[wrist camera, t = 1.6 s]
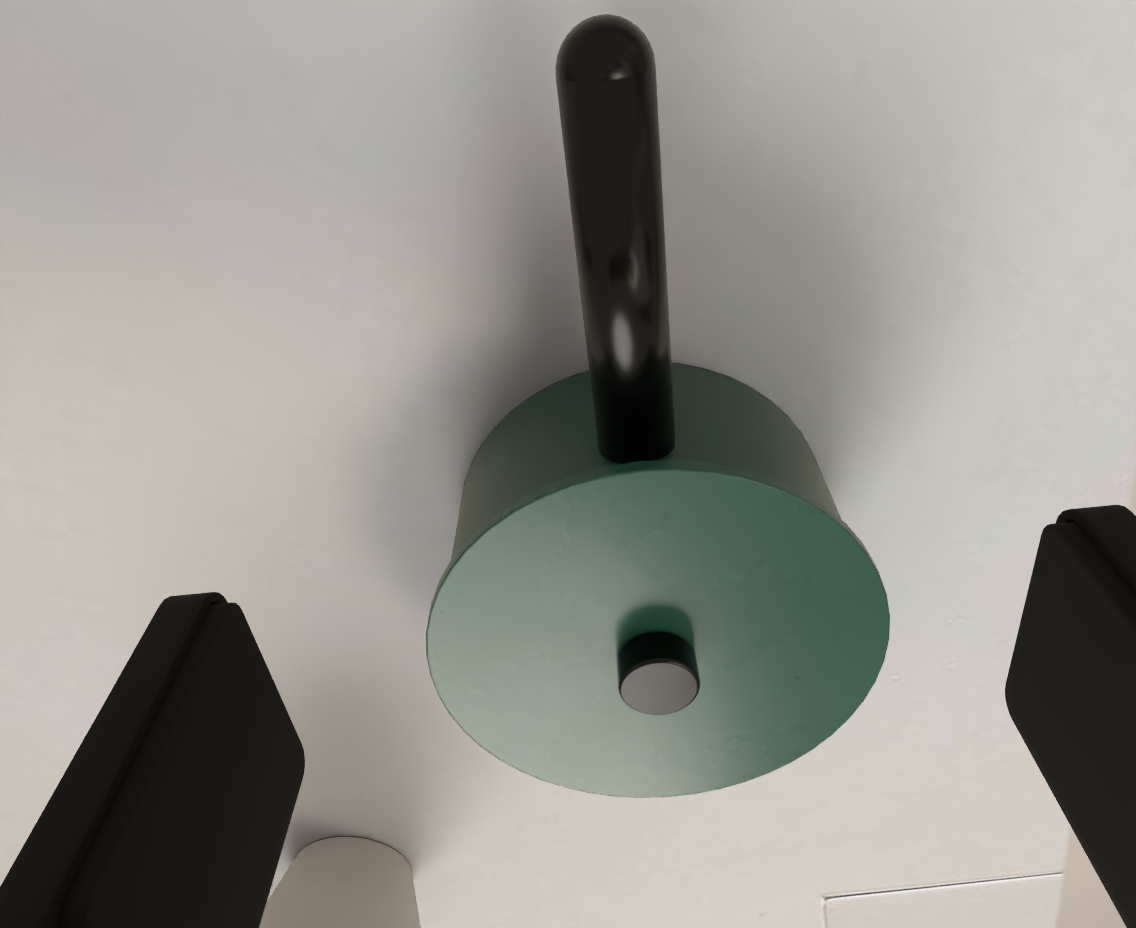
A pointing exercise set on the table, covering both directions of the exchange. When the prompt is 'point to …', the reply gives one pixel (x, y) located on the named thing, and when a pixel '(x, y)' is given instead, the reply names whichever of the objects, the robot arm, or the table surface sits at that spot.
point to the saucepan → (646, 521)
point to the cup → (344, 888)
